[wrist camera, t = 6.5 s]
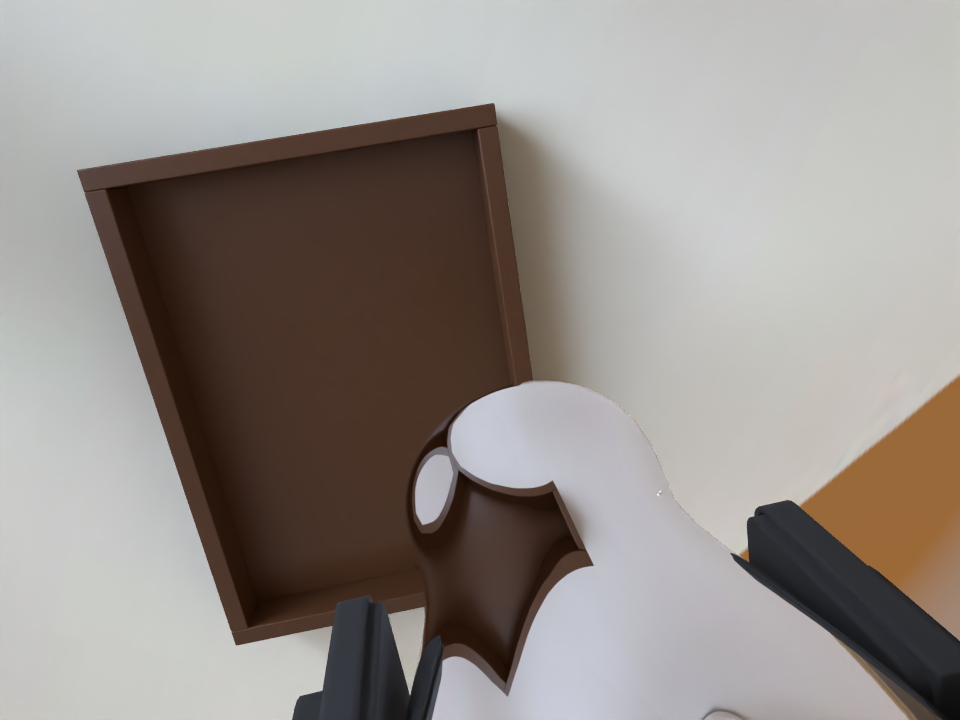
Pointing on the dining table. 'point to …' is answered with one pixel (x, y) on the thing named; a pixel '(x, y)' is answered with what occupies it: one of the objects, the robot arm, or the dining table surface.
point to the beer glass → (603, 584)
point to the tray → (314, 340)
